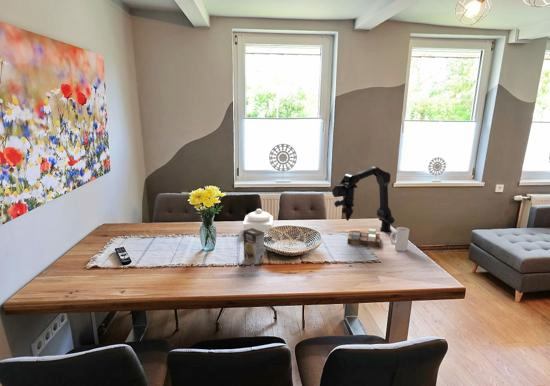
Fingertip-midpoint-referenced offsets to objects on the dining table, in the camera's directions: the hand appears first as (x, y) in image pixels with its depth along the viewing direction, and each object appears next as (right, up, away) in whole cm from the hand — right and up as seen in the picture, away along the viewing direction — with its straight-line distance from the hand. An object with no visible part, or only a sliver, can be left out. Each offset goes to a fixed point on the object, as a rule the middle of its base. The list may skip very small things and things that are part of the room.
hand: (347, 220), depth 199 cm
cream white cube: (+13, -12, -7) cm, 19 cm away
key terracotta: (+6, -10, +2) cm, 12 cm away
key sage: (+15, -10, -1) cm, 17 cm away
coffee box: (-55, -19, -27) cm, 64 cm away
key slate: (+4, -11, -4) cm, 13 cm away
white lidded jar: (-54, -9, +12) cm, 56 cm away
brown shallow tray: (+9, -12, -2) cm, 16 cm away
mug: (+26, -15, -13) cm, 33 cm away
